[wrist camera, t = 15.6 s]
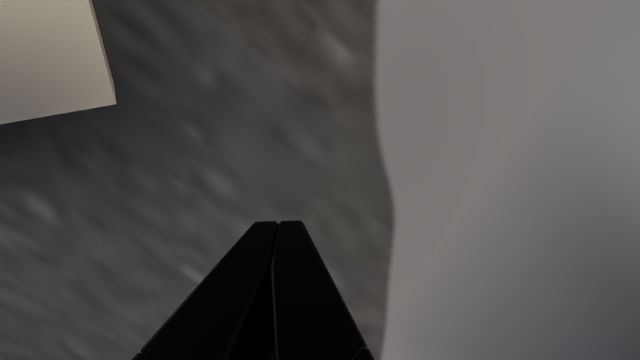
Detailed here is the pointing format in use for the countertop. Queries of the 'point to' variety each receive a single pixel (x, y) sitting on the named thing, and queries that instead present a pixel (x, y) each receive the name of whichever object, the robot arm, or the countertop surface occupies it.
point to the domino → (51, 59)
